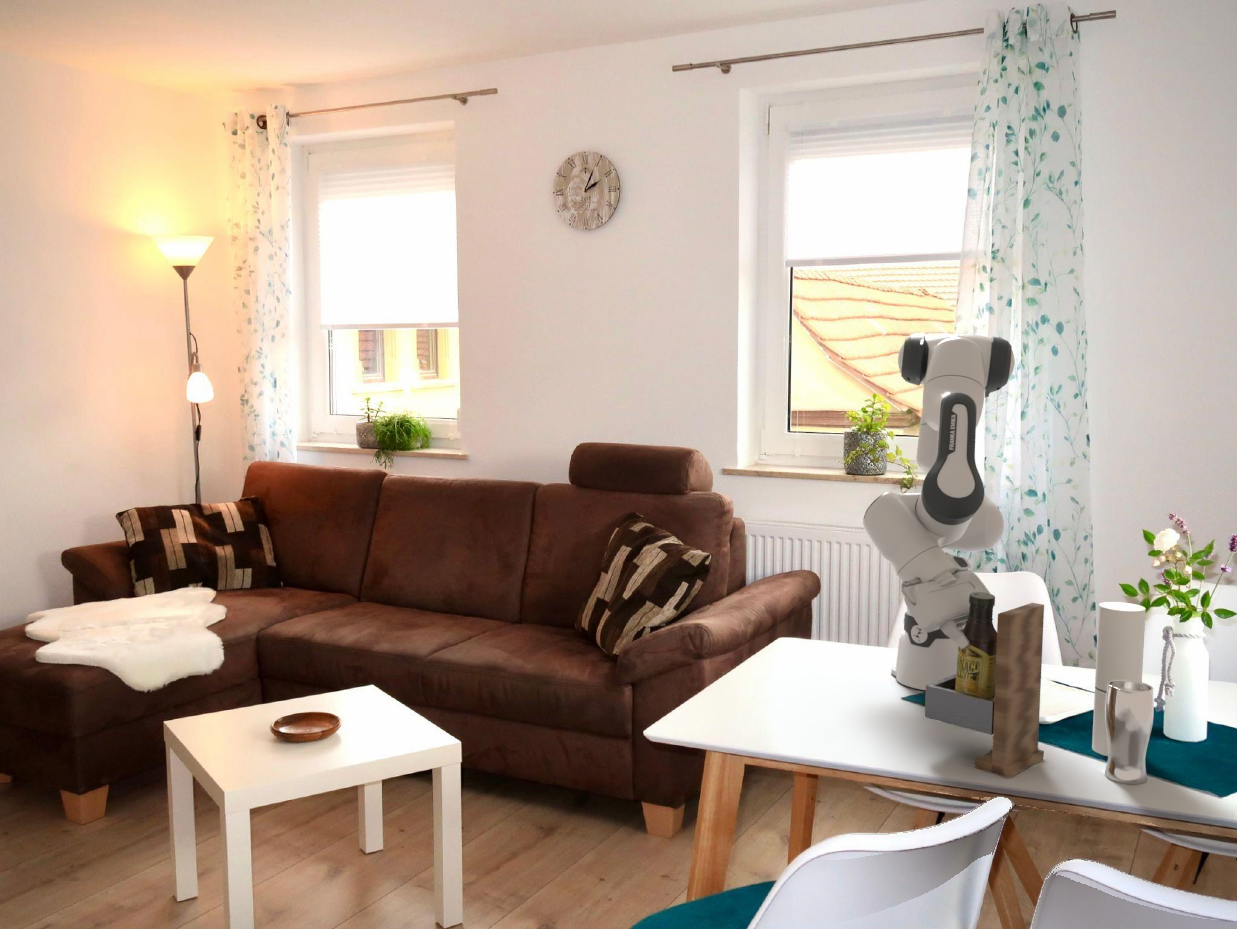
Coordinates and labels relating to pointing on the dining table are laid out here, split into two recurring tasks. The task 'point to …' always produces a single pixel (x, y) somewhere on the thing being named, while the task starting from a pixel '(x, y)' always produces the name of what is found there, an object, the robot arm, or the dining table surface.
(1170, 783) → the dining table surface
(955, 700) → the open rectangular box
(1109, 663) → the cylindrical container
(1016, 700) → the wall board
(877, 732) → the dining table surface
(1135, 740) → the beer glass
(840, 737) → the dining table surface
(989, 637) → the sauce bottle
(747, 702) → the dining table surface
